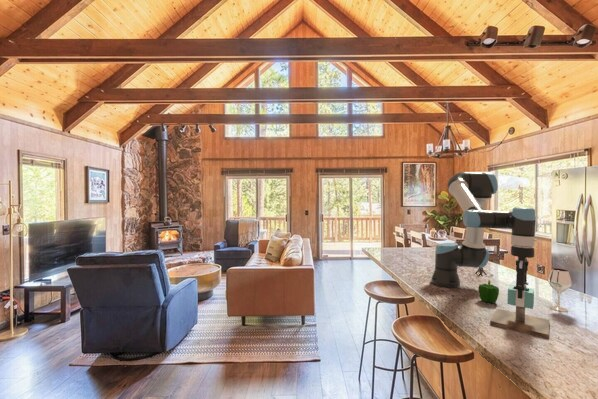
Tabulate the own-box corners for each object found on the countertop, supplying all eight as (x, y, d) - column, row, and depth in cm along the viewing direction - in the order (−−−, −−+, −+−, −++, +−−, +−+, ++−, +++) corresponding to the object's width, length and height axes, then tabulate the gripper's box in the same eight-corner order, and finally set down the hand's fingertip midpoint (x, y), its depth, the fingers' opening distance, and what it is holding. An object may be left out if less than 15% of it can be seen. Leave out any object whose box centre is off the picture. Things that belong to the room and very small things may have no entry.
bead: (507, 304, 123) (507, 288, 123) (509, 299, 129) (510, 284, 129) (532, 309, 118) (533, 293, 118) (533, 303, 124) (534, 288, 124)
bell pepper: (493, 306, 144) (493, 284, 144) (475, 300, 151) (475, 280, 151) (502, 302, 149) (502, 282, 148) (484, 297, 156) (485, 278, 155)
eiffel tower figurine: (467, 275, 201) (468, 255, 201) (466, 272, 210) (467, 252, 210) (495, 278, 195) (495, 257, 195) (492, 275, 204) (493, 254, 204)
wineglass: (565, 313, 136) (566, 272, 136) (543, 307, 144) (544, 268, 143) (574, 310, 140) (575, 271, 140) (552, 304, 147) (553, 267, 147)
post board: (490, 324, 123) (491, 291, 123) (496, 311, 137) (497, 282, 136) (548, 338, 111) (549, 302, 111) (549, 323, 125) (550, 291, 125)
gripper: (532, 250, 113) (530, 313, 113) (535, 244, 129) (534, 299, 129) (508, 248, 118) (506, 307, 118) (513, 242, 134) (512, 295, 134)
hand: (520, 303), depth 124 cm, fingers closed on bead, 8 cm apart
